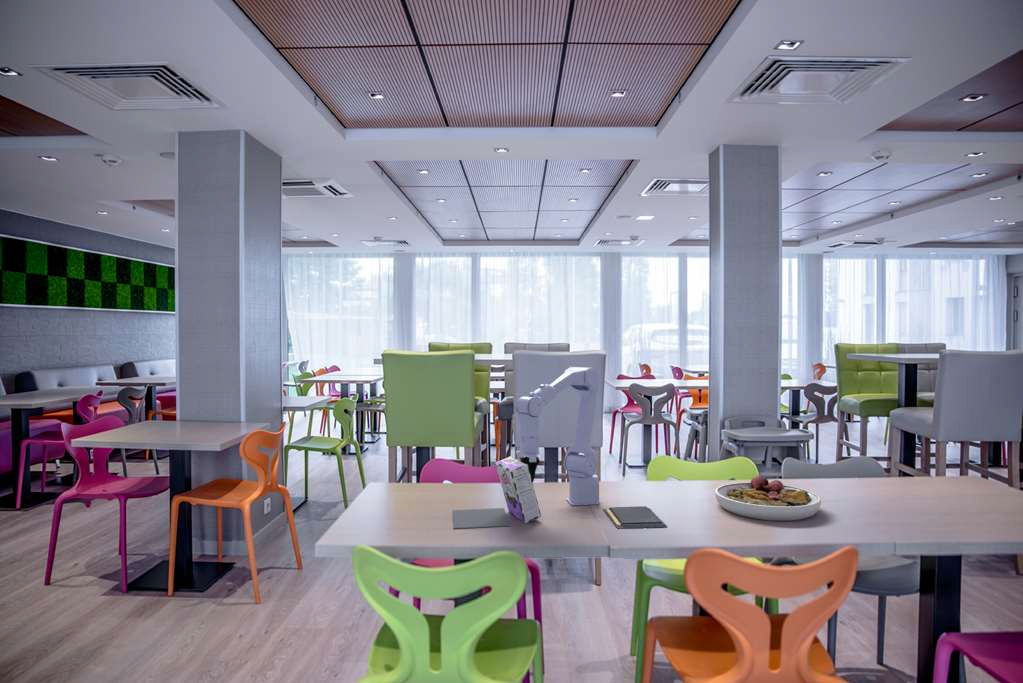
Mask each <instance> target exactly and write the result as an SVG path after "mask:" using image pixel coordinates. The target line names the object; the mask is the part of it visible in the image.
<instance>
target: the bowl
mask: <svg viewBox="0 0 1023 683" xmlns="http://www.w3.org/2000/svg"><path fill="white" fill-rule="evenodd" d="M714 492H715V493H714V494H715V495H714V496H715V499H716V501H717V502H718V504H719V505H720V506H721V507H722V508H723V509H725V511H726V510H727V511H728V512H730V513H732V514H736V515H738V516H742V517H746V518H751V519H755V520H763V521H776V522H777V521H779V522H786V521H787V522H790V521H799V520H805V519H808V518H810V517H812V516H814V515H815V514H816V513H817V512H818V511H819V510H820V507H821V505H822V504H821V502H822V499H821V496H819V495H818V494H817V493H815V492H813V491H810V490H807V489H804V488H801V487H796V486H791V485H788V484H787V485H786V484H783V482H782V481H781V480H780V479H779V480H778V479H775V480H773V481H771V482H769V479H767V477H765V476H763V475H757V476H755V477H752V478H751V480H750V482H733V483H727V484H723V485H719V486H718V487H716V488H715V490H714Z"/></svg>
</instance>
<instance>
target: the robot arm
mask: <svg viewBox="0 0 1023 683" xmlns="http://www.w3.org/2000/svg"><path fill="white" fill-rule="evenodd" d="M600 378H601V375H600V373H599V372H598V370H597V369H596V368H595V367H593V366H591V367H590V366H589V367H587V366H586V367H581V366H569V367H568V368H567V369H565V370H564V372H563V374H562V375H559V377H558V378H556V379H555V380H554V381H553V382H552V383H550V384H548V383H545V384H544V383H542V384H540V385H539V387H538V388H537V389H535V390H534V391H531V392H529V393H528V395H527V396H521V397H520V398H518V400H517V402H516V405H515V406H514V409H515V412H516V414H517V417H518V420H519V450H516V451H515V454H516V455H521V457H519V461H521V462H523V463H524V464H527V465H528V468H529V472H530V475H531V479H532V483H534V481H535V477H536V471H537V468H538V465H539V463H540V461H541V460H540V459H539V457H538V456H539V455H540V453H541V452H540V448H539V447H540V446H539V445H540V442H539V441H540V440H539V439H540V438H539V437H540V436H539V434H540V433H539V428H540V427H539V425H540V424H539V420H540V419H539V416H541V414H542V412H543V409H544V408H545V407H546V406H549V404H551V403H552V402H553V401H554V400H555V399H556V398H557V394H558V393H560V392H562V391H563V390H565V389H567V388H568V387H571V388H572V389H573V390H574V391H575V392H577V393H578V395H579V396H580V400H579V406H578V407H579V408H578V416H577V421H576V427H575V428H576V429H575V435H574V441H573V444H572V445H571V446H569V447H568V448H567V451H566V455H565V457H564V460H563V467H564V469H565V471H566V472H567V475H568V478H569V479H568V482H569V485H568V488H569V490H568V491H569V492H568V493H569V495H568V496H569V497H566V501H567V502H568V504H569V505H571V506H586V505H587V506H588V505H589V506H591V505H600V480H599V476H598V475H597V474H595V472H596V470H597V466H598V465H597V453H596V451H595V450H594V449H593V448H592V440H593V438H592V437H593V431H594V424H595V418H596V417H595V416H596V410H597V404H598V396H599V387H600V380H601V379H600ZM522 456H523V457H522Z"/></svg>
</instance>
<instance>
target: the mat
mask: <svg viewBox="0 0 1023 683" xmlns="http://www.w3.org/2000/svg"><path fill="white" fill-rule="evenodd" d="M452 518H453V519H452V520H453V530H461V529H462V530H463V529H466V530H467V529H482V528H484V529H485V528H488V529H489V528H508V527H511V524H510V521H509V519H508V515H507V512H506V510H505V508H504V507H499V508H498V507H496V508H473V509H454V510H452Z"/></svg>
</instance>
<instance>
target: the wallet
mask: <svg viewBox="0 0 1023 683" xmlns="http://www.w3.org/2000/svg"><path fill="white" fill-rule="evenodd" d="M602 511H603V512H604V513H605V515H606V516H607V517H608V518H609V520H610V521H611V523H612V525H613V526H614V527H615V528H617V530H639V529H641V530H642V529H644V528H646V529H665V528H666V529H667V528H668V525H667V524H665V522H664V521H663V520H662V519H660V517H659V516H657V515H656V514H655V513H654V511H653V510H652V509H650V508H649V507H647V506H643V505H642V506H641V505H640V506H612V507H611V506H610V507H609V508H603V509H602Z"/></svg>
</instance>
